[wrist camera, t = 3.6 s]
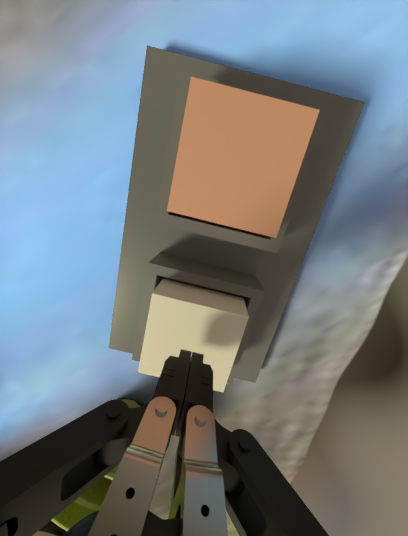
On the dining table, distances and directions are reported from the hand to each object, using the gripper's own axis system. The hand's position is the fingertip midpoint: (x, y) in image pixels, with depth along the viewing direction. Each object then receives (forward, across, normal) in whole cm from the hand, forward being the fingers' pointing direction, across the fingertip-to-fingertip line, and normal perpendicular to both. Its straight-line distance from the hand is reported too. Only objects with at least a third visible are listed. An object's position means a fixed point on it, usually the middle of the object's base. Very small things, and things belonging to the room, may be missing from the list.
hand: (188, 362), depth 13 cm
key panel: (+9, 0, -6) cm, 11 cm away
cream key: (+5, 0, 0) cm, 5 cm away
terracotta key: (+5, 0, -12) cm, 13 cm away
